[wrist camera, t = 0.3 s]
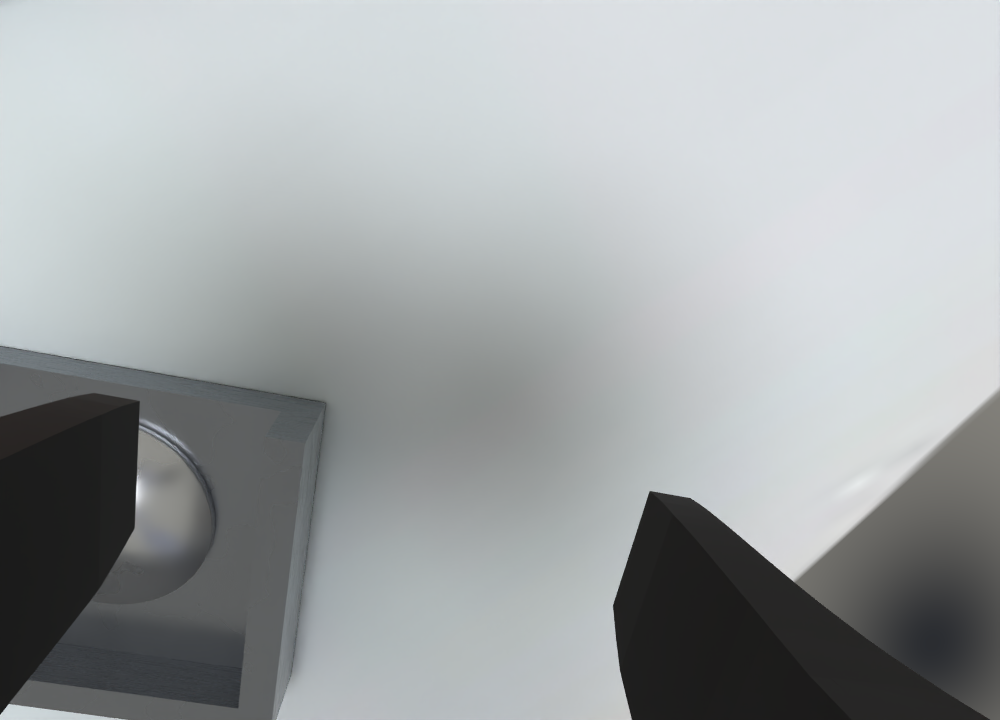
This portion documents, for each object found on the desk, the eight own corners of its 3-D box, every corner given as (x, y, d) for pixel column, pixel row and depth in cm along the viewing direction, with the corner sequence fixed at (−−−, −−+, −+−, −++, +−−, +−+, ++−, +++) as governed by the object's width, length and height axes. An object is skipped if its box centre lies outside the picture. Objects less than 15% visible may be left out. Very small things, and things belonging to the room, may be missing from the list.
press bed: (291, 674, 24) (269, 738, 21) (-24, 630, 23) (-83, 691, 21) (325, 402, 20) (304, 443, 18) (-43, 339, 20) (-115, 372, 17)
